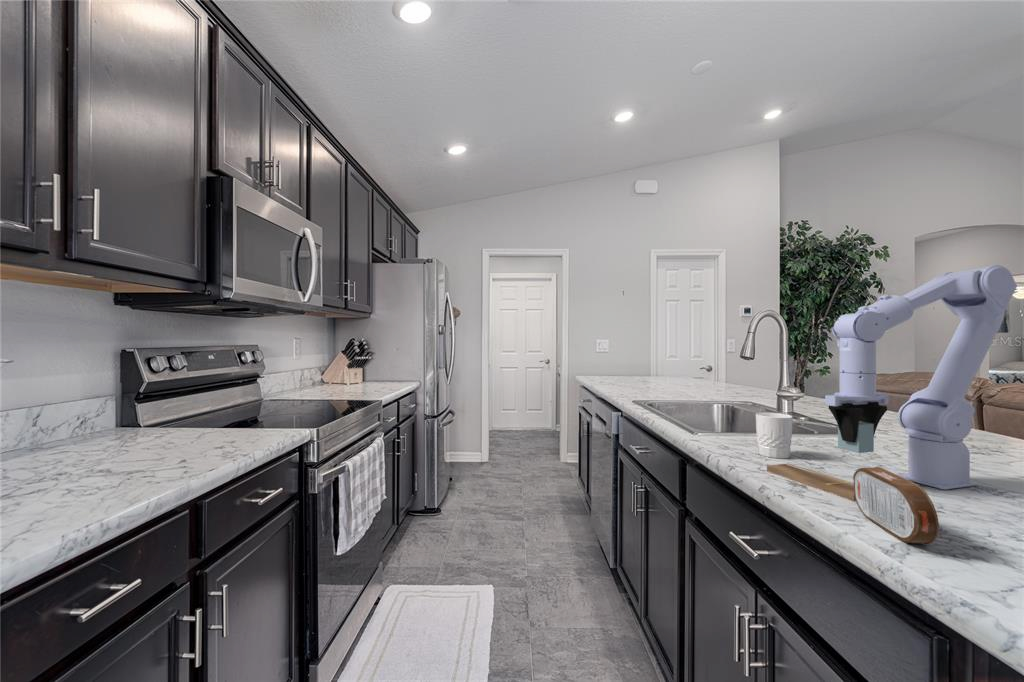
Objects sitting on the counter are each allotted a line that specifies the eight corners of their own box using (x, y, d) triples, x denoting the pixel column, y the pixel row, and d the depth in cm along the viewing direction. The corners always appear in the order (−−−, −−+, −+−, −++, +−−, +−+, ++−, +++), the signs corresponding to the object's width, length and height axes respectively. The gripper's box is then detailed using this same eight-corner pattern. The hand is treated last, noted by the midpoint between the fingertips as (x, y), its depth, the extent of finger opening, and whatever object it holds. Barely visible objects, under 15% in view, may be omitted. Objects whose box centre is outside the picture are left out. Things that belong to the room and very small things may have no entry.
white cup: (763, 458, 103) (763, 417, 103) (750, 450, 111) (750, 411, 111) (799, 460, 101) (799, 418, 101) (783, 451, 109) (783, 412, 109)
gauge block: (852, 446, 88) (852, 419, 88) (873, 451, 84) (873, 423, 84) (838, 448, 87) (838, 420, 87) (858, 453, 83) (858, 424, 83)
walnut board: (788, 468, 94) (788, 463, 94) (878, 497, 77) (878, 490, 77) (766, 471, 93) (766, 465, 93) (853, 500, 75) (853, 493, 75)
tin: (941, 555, 56) (941, 492, 56) (913, 553, 57) (913, 490, 57) (870, 511, 71) (870, 460, 71) (848, 509, 72) (849, 459, 72)
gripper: (862, 370, 91) (862, 434, 91) (810, 372, 87) (810, 438, 87) (900, 373, 84) (900, 441, 84) (846, 374, 80) (846, 446, 80)
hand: (857, 440), depth 85 cm, fingers closed on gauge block, 4 cm apart
